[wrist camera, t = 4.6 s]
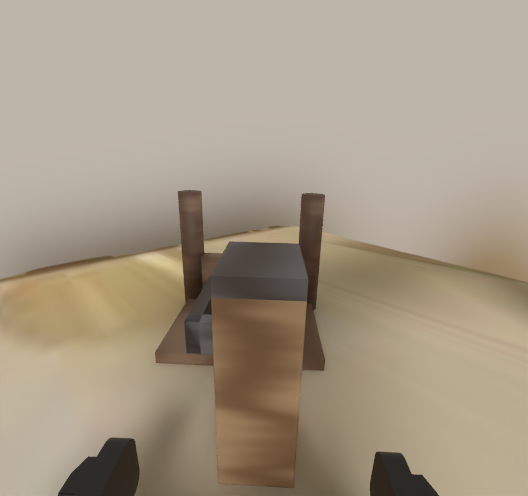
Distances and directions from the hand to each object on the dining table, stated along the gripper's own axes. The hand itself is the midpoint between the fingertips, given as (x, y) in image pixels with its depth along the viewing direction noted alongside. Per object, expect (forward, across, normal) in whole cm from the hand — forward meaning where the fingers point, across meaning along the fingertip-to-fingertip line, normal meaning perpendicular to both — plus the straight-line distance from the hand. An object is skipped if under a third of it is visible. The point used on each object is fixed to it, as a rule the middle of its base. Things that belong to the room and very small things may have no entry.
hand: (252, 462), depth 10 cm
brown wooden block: (+6, 0, +7) cm, 9 cm away
